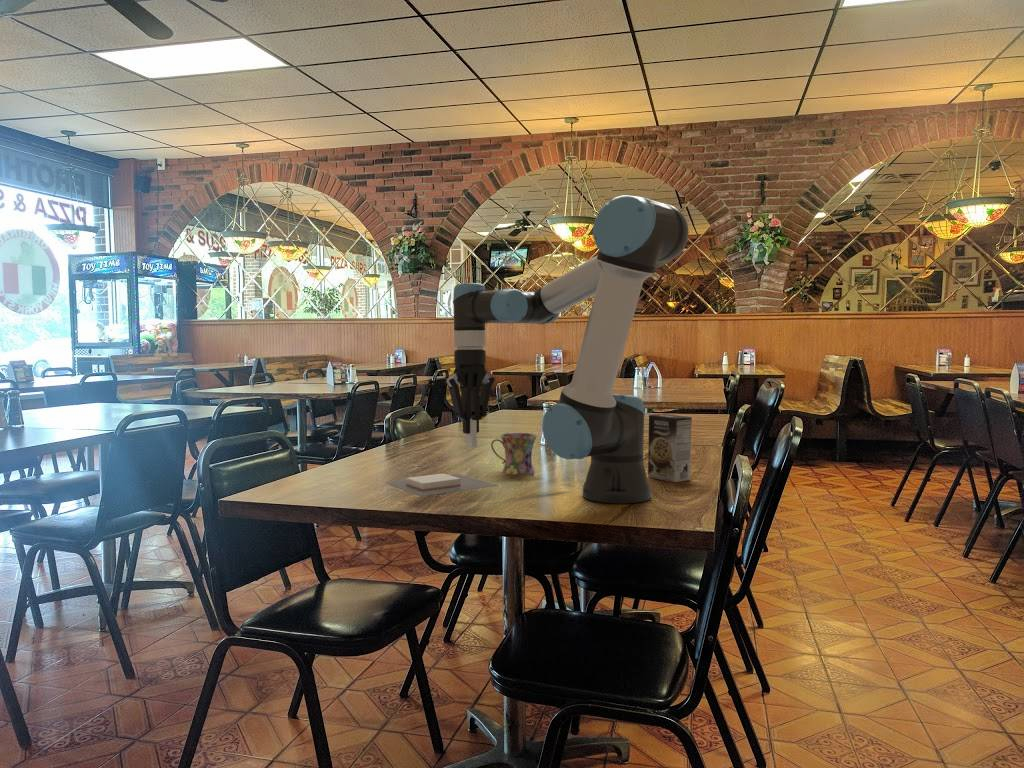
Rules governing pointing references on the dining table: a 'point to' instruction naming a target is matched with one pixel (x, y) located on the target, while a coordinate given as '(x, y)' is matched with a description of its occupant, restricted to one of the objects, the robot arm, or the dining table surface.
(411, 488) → the slate board
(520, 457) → the mug
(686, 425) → the cookie box
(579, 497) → the dining table surface
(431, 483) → the tile
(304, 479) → the dining table surface
